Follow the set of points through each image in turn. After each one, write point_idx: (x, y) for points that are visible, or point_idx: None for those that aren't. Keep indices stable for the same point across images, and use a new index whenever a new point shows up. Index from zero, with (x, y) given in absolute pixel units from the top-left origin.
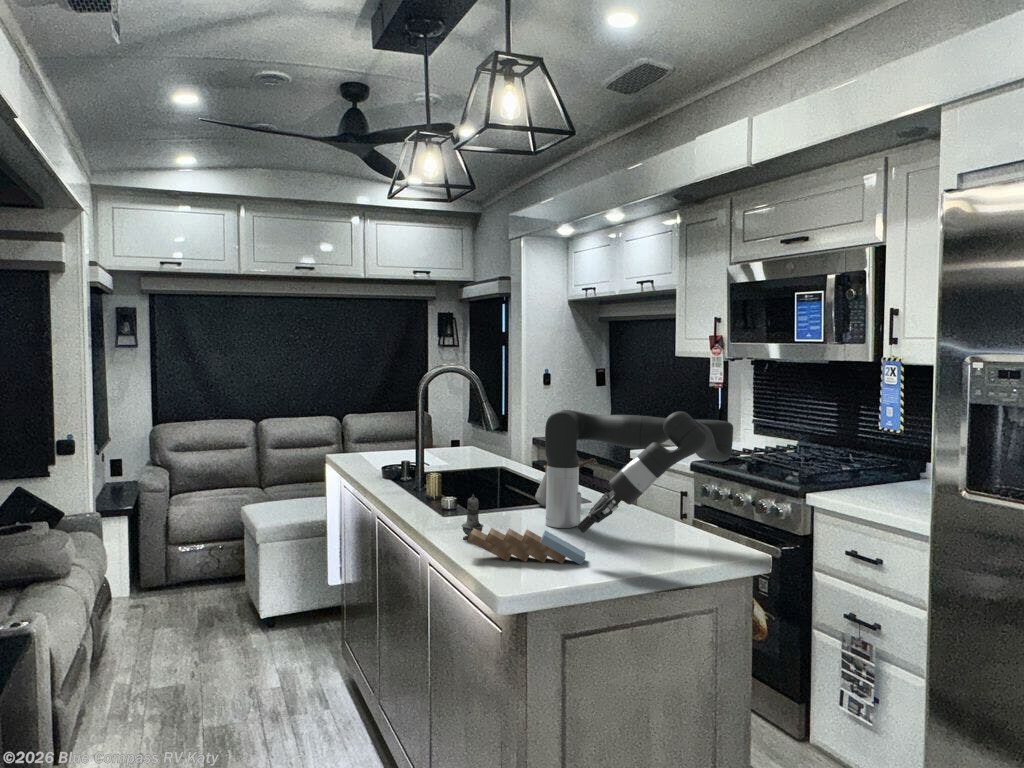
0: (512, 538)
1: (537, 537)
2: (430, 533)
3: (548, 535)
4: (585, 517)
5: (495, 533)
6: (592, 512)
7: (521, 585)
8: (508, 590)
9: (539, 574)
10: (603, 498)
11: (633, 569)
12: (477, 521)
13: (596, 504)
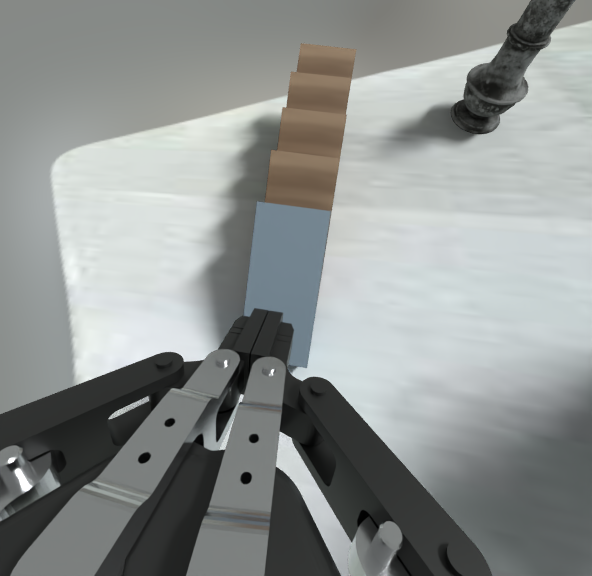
0: (280, 133)
1: (304, 198)
2: (498, 51)
3: (282, 220)
4: (266, 342)
5: (313, 93)
6: (193, 374)
7: (105, 190)
8: (80, 167)
9: (176, 231)
10: (63, 510)
11: None
12: (500, 76)
13: (234, 421)
